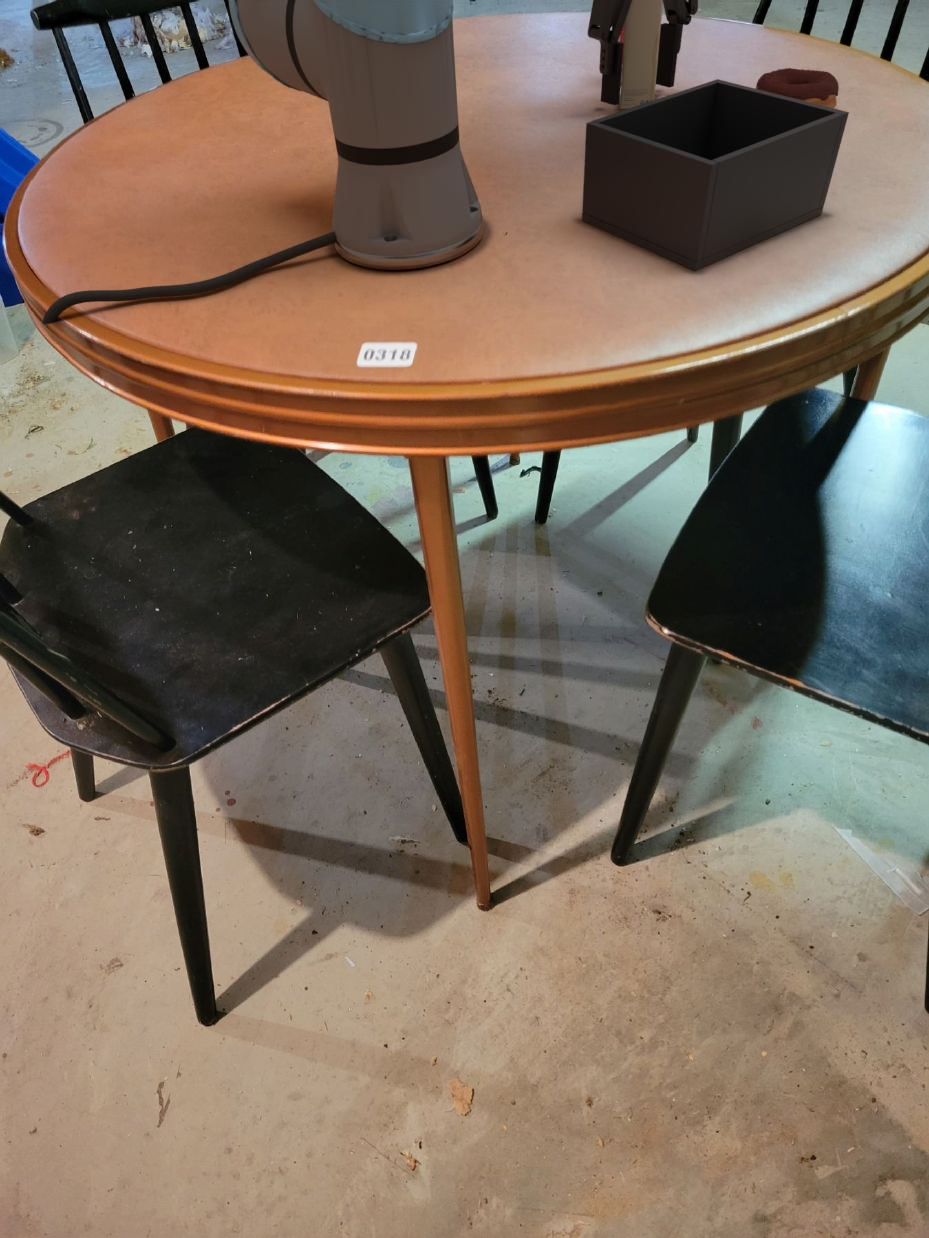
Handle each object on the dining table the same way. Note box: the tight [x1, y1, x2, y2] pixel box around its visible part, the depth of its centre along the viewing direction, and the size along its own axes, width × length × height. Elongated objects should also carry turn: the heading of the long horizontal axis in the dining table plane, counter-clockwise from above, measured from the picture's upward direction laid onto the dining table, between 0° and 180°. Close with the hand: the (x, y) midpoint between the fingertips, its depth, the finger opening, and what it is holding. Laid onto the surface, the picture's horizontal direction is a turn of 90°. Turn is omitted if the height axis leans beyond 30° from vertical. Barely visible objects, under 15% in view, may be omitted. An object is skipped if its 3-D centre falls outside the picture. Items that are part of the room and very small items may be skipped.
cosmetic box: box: [619, 0, 664, 110], centre depth 98 cm, size 6×4×12 cm
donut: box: [755, 67, 840, 109], centre depth 94 cm, size 10×10×4 cm
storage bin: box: [581, 78, 850, 272], centre depth 74 cm, size 18×16×9 cm
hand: (637, 93), depth 101 cm, fingers open, 9 cm apart
